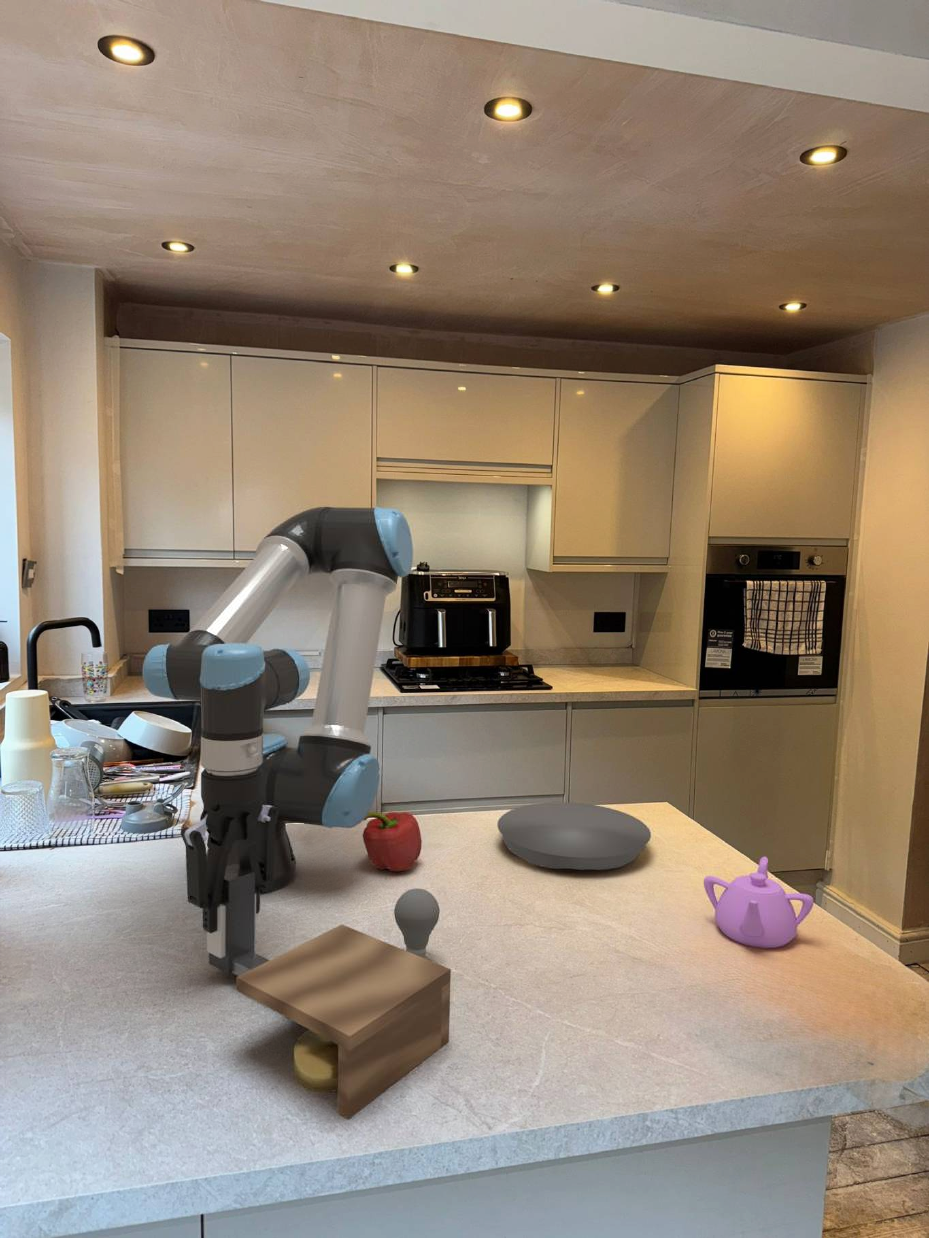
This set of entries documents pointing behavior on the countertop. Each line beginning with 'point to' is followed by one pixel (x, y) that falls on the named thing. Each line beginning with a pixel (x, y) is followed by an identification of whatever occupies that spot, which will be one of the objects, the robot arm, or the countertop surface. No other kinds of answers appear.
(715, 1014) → the countertop surface
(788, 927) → the teapot
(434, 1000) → the shelf
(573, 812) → the flat disc
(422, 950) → the light bulb
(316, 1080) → the ball
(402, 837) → the vegetable
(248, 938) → the l-shaped hook tool
